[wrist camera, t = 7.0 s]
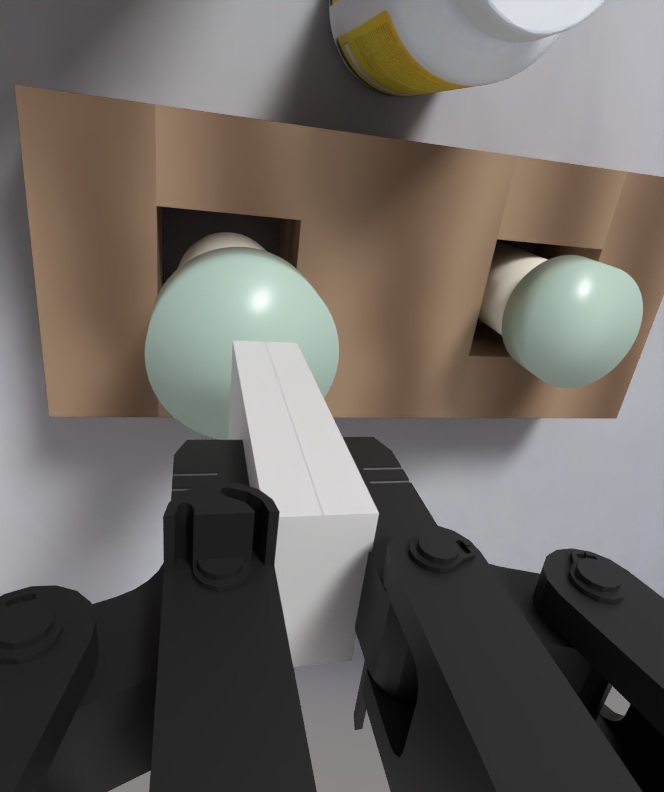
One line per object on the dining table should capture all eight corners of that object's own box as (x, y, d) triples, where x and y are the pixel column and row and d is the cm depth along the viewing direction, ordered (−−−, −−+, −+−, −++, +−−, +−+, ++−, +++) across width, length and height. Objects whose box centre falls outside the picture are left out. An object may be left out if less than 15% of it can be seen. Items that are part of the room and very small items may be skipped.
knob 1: (160, 342, 22) (146, 442, 15) (159, 209, 20) (142, 254, 13) (286, 347, 24) (327, 441, 17) (298, 222, 21) (350, 269, 14)
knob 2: (435, 325, 29) (512, 387, 23) (457, 225, 27) (548, 260, 20) (520, 329, 31) (617, 389, 24) (546, 235, 29) (661, 270, 22)
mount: (71, 369, 27) (48, 416, 22) (49, 92, 22) (14, 84, 18) (561, 380, 34) (616, 418, 30) (628, 174, 29) (706, 183, 25)
